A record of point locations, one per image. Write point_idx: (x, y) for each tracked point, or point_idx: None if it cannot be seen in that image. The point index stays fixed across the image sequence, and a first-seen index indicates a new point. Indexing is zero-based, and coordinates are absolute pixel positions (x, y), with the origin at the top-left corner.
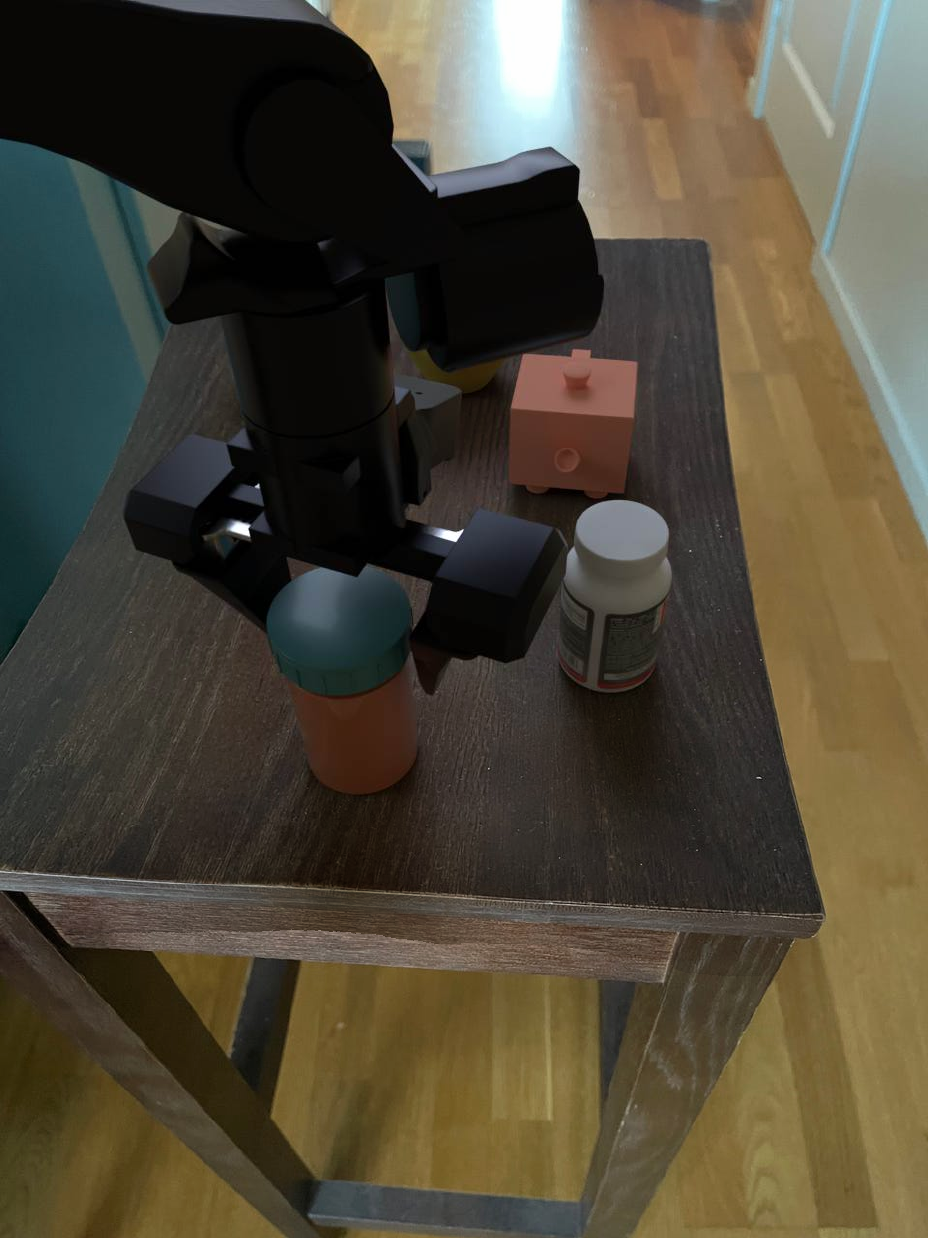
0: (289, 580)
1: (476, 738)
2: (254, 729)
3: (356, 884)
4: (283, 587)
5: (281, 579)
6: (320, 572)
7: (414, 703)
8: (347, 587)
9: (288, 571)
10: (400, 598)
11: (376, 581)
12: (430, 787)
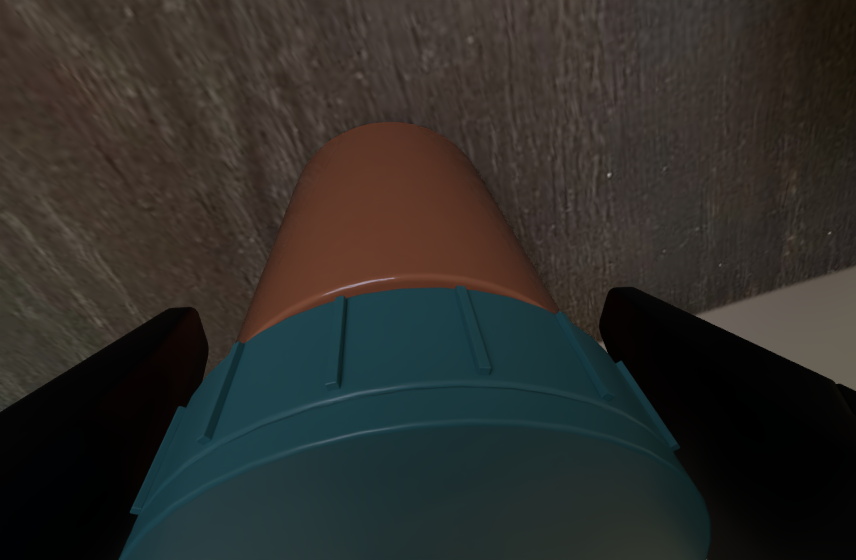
0: (46, 465)
1: (577, 124)
2: (196, 259)
3: None
4: (68, 503)
5: (33, 546)
6: (189, 537)
7: (502, 213)
8: (386, 540)
9: (2, 497)
10: (658, 502)
11: (510, 478)
12: (525, 240)
